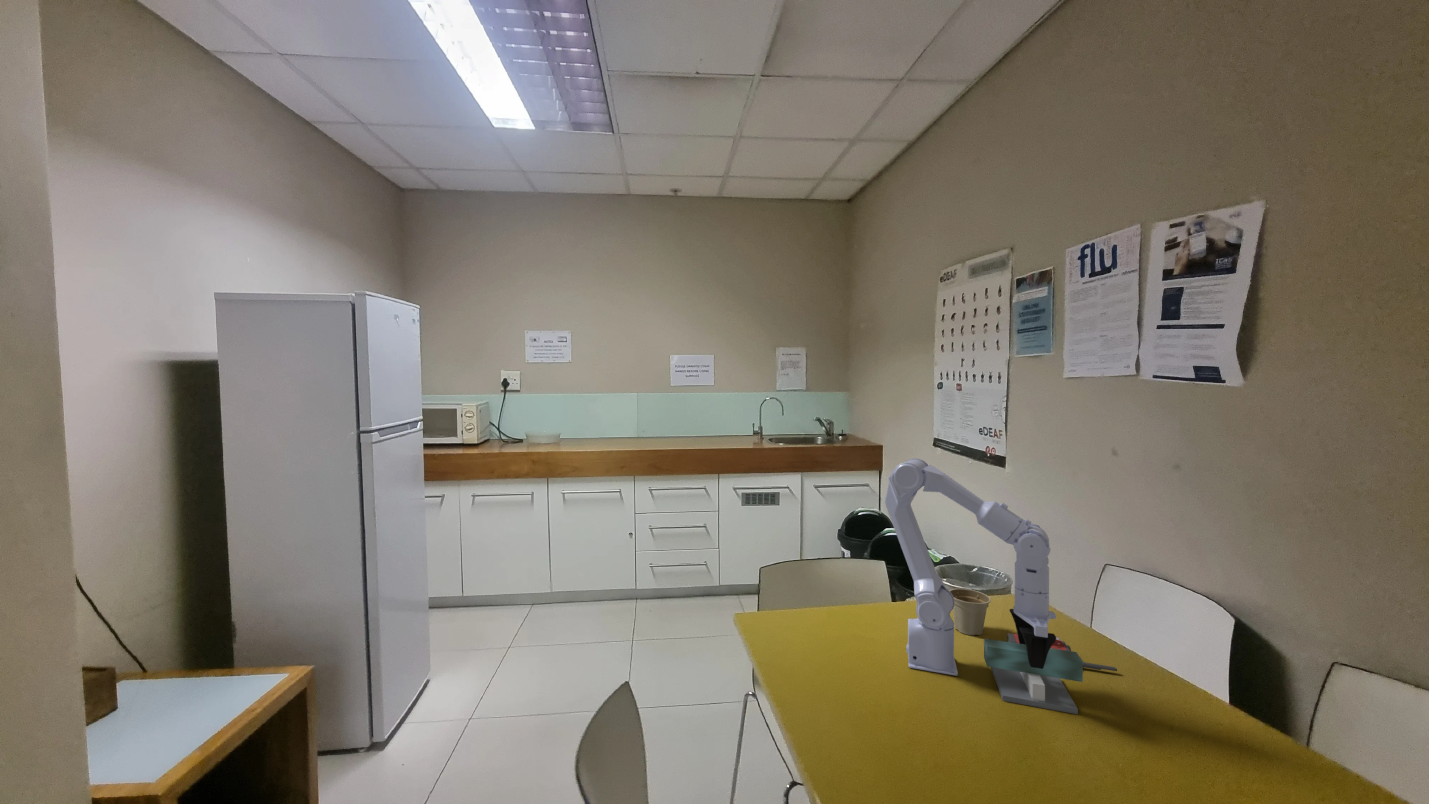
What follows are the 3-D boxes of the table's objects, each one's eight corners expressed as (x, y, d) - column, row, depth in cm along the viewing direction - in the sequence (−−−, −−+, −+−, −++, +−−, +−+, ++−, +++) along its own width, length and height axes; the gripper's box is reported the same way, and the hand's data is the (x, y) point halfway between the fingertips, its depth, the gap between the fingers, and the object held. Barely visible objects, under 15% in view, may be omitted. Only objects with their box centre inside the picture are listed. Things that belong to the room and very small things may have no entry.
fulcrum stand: (1002, 700, 95) (1002, 679, 95) (991, 668, 106) (991, 649, 106) (1077, 714, 90) (1077, 692, 90) (1057, 679, 102) (1057, 659, 102)
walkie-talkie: (1008, 661, 110) (1119, 679, 103) (1008, 641, 110) (1119, 657, 103) (1000, 642, 118) (1103, 658, 111) (1000, 624, 118) (1103, 638, 111)
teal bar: (986, 666, 99) (987, 646, 99) (984, 657, 103) (984, 638, 103) (1082, 682, 94) (1082, 660, 94) (1076, 672, 97) (1076, 651, 97)
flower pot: (984, 623, 127) (984, 590, 127) (996, 641, 118) (996, 604, 118) (944, 620, 129) (944, 586, 129) (952, 637, 120) (953, 601, 120)
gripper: (1067, 605, 90) (1067, 680, 90) (1044, 578, 104) (1044, 643, 104) (1022, 600, 92) (1022, 673, 92) (1006, 574, 106) (1005, 638, 106)
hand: (1031, 657), depth 98 cm, fingers open, 7 cm apart
